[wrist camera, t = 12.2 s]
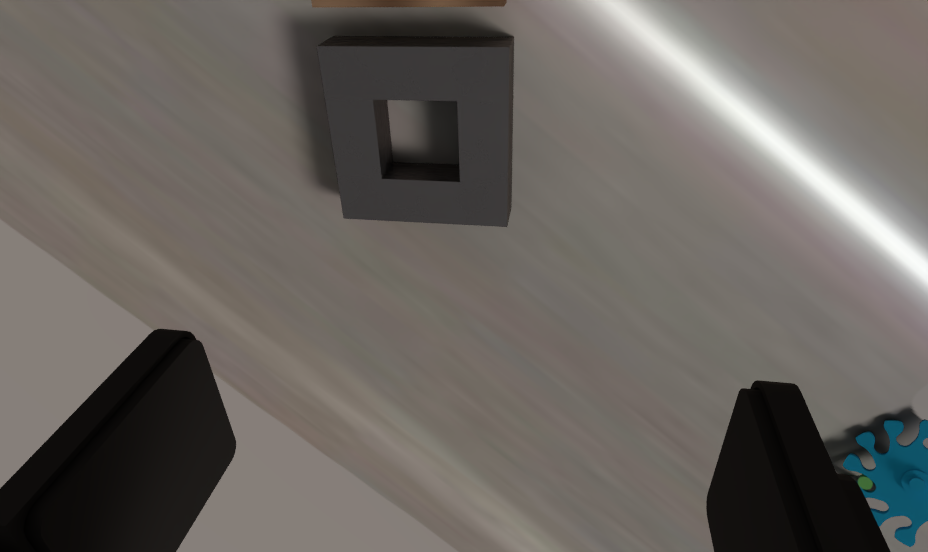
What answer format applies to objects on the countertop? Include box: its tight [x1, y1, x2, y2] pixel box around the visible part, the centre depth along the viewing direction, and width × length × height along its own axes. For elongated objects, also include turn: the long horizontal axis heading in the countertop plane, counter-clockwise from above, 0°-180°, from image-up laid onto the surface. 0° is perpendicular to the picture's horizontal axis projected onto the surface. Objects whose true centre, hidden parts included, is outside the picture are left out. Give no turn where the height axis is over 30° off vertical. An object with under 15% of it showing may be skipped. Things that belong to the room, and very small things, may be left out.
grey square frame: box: [317, 36, 514, 227], centre depth 40 cm, size 12×12×3 cm
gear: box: [843, 419, 928, 547], centre depth 49 cm, size 11×6×10 cm
